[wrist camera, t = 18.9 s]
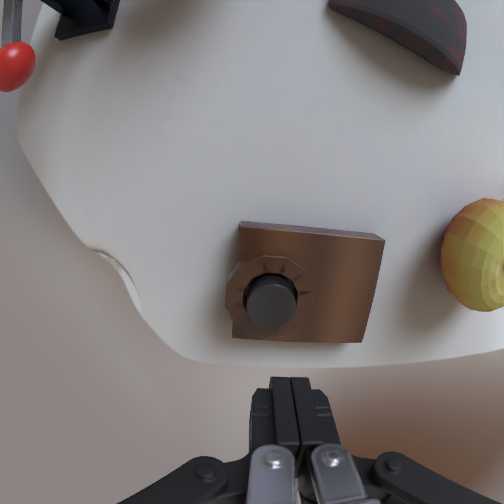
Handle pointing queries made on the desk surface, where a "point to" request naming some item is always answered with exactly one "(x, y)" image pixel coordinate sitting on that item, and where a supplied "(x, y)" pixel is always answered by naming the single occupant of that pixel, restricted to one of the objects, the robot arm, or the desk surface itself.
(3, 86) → the lever
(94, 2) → the bracket
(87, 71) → the desk surface
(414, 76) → the desk surface
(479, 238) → the apple
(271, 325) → the button
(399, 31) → the computer mouse
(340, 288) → the button block
